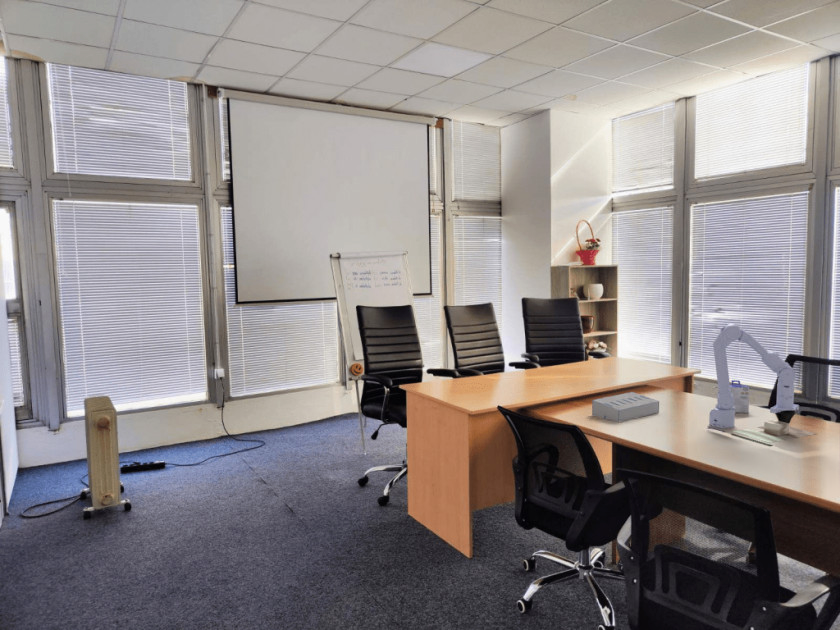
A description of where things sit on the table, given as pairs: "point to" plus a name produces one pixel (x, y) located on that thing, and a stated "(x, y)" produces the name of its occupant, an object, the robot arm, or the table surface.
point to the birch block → (776, 427)
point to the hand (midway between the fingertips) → (783, 428)
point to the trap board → (770, 435)
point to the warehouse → (624, 407)
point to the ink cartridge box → (740, 397)
